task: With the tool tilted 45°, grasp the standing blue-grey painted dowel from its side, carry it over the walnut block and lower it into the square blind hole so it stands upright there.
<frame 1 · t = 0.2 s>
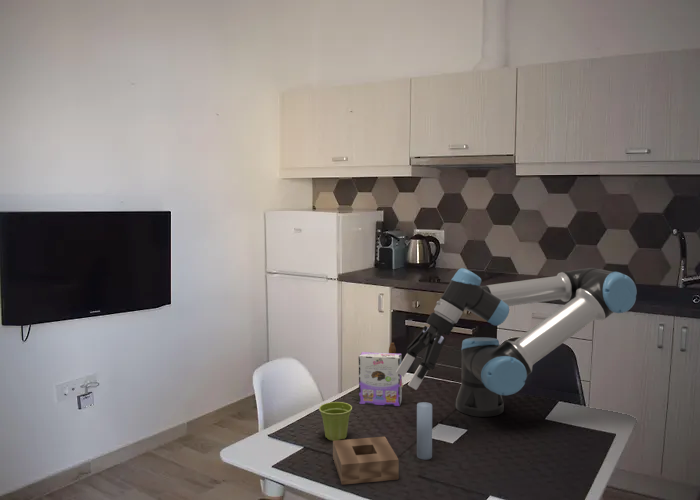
hand: (405, 380, 170), 15 cm above the table, tool tilted 35°, fingers open, 13 cm apart
hand bell: (391, 386, 213), on the table
plant pot: (335, 437, 168), on the table
bore block: (364, 468, 149), on the table
dowel: (424, 456, 156), on the table
candy box: (380, 403, 196), on the table
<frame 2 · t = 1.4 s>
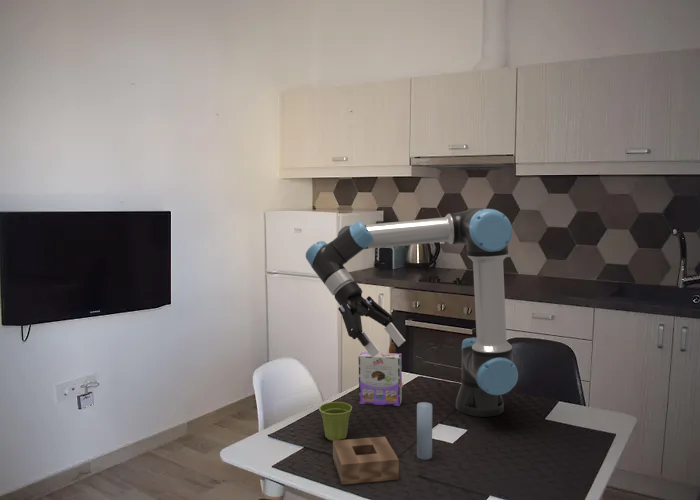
hand: (389, 348, 159), 27 cm above the table, tool tilted 45°, fingers open, 13 cm apart
nothing on the table moved.
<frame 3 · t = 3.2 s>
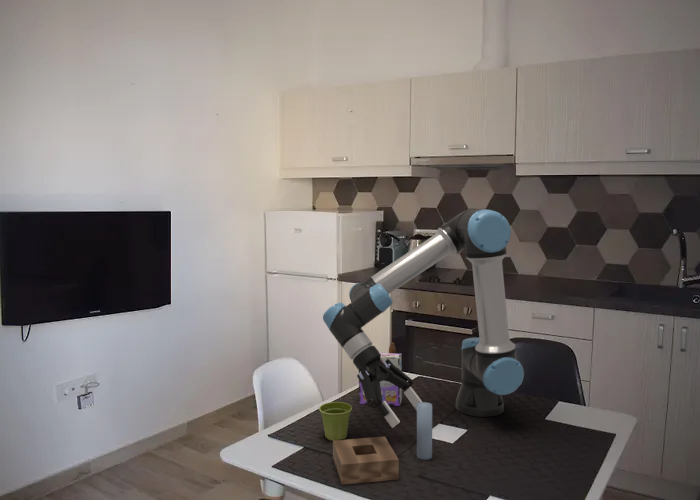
hand: (409, 416, 156), 10 cm above the table, tool tilted 45°, fingers open, 13 cm apart
nothing on the table moved.
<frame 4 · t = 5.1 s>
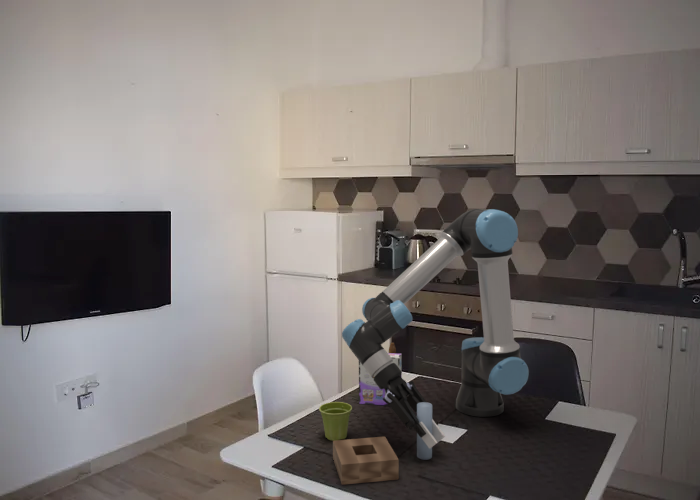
hand: (437, 442, 153), 5 cm above the table, tool tilted 45°, fingers closed on dowel, 4 cm apart
dowel: (424, 456, 156), on the table, touching gripper
everything else where it was.
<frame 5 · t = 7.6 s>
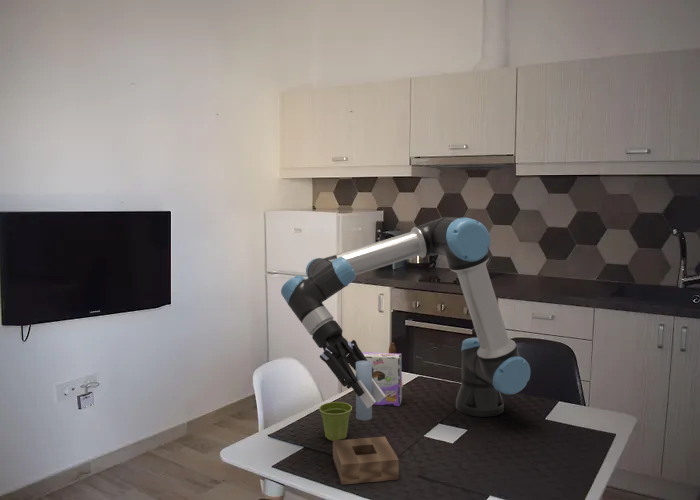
hand: (376, 402, 145), 18 cm above the table, tool tilted 45°, fingers closed on dowel, 4 cm apart
dowel: (364, 417, 147), point 13 cm above the table, touching gripper
everything else where it was.
when the fingers open (7 cm above the table, at t = 10.3 s): dowel drops 1 cm, resting on bore block.
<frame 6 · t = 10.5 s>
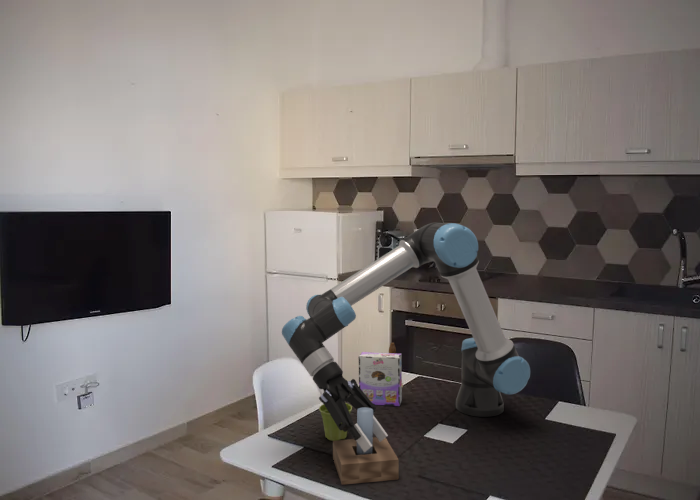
hand: (376, 443, 146), 7 cm above the table, tool tilted 45°, fingers open, 7 cm apart
dowel: (364, 464, 149), point 1 cm above the table, touching bore block
everything else where it was.
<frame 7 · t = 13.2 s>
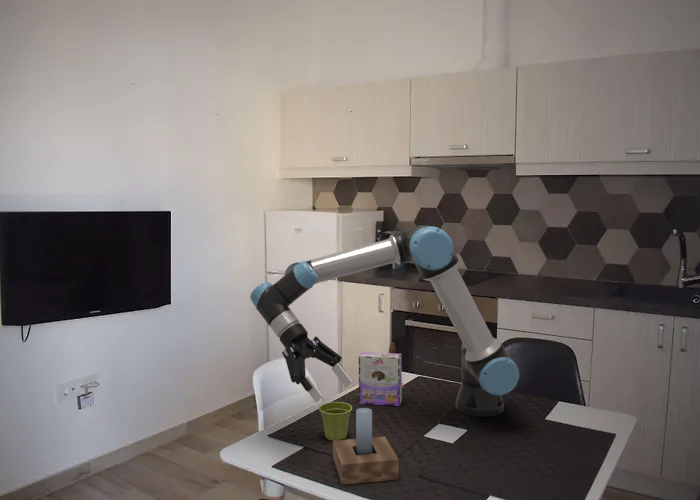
hand: (334, 391, 158), 16 cm above the table, tool tilted 45°, fingers open, 13 cm apart
nothing on the table moved.
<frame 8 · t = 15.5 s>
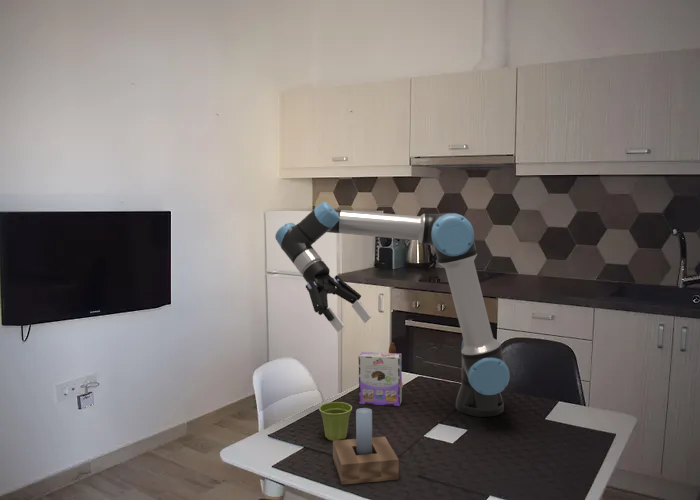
hand: (355, 324, 166), 33 cm above the table, tool tilted 45°, fingers open, 13 cm apart
nothing on the table moved.
at the end: dowel 0.0 cm off-centre on the bore block, point 1.1 cm above the bore block's base; dowel tilted 0°; the gripper is holding nothing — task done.
